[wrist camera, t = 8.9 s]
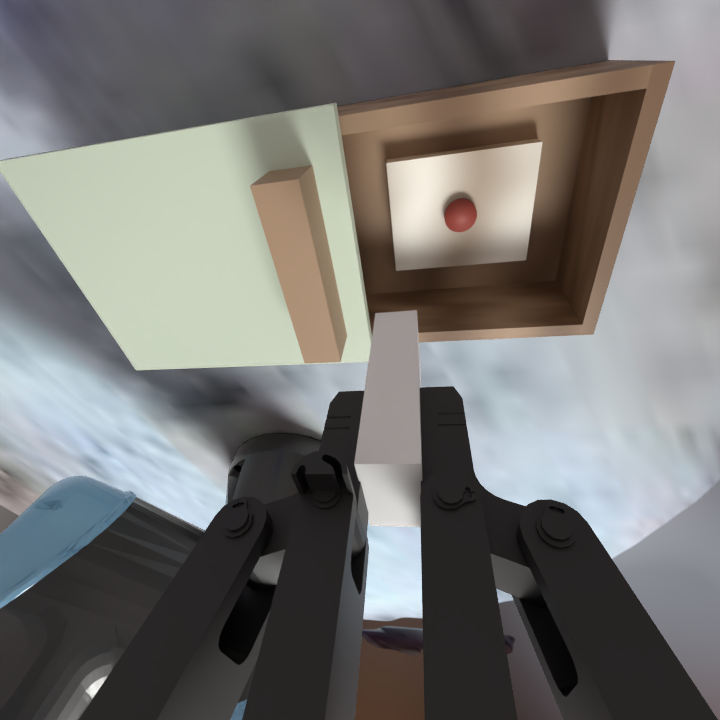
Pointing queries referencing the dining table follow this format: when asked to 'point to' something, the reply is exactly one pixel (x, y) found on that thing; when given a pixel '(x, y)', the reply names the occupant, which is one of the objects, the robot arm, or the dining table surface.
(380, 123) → the box
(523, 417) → the dining table surface
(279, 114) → the lid
